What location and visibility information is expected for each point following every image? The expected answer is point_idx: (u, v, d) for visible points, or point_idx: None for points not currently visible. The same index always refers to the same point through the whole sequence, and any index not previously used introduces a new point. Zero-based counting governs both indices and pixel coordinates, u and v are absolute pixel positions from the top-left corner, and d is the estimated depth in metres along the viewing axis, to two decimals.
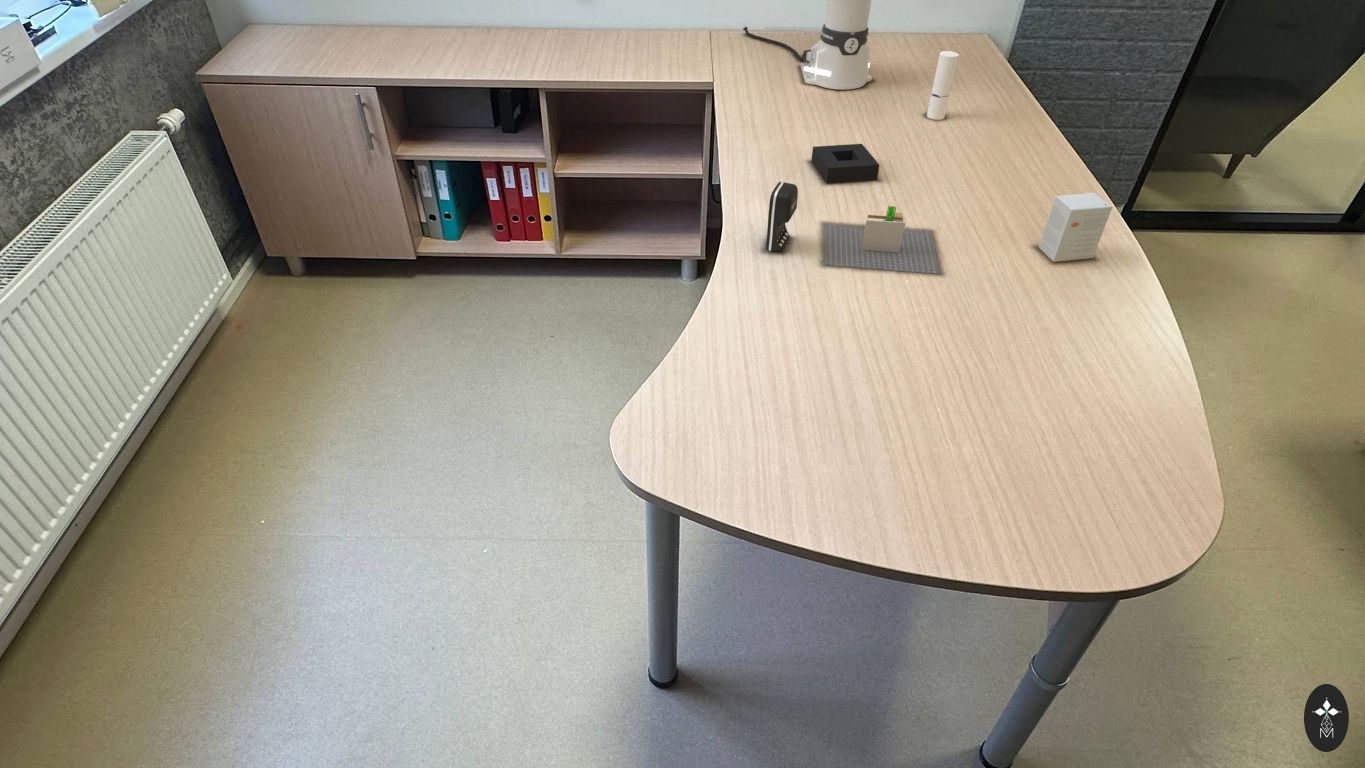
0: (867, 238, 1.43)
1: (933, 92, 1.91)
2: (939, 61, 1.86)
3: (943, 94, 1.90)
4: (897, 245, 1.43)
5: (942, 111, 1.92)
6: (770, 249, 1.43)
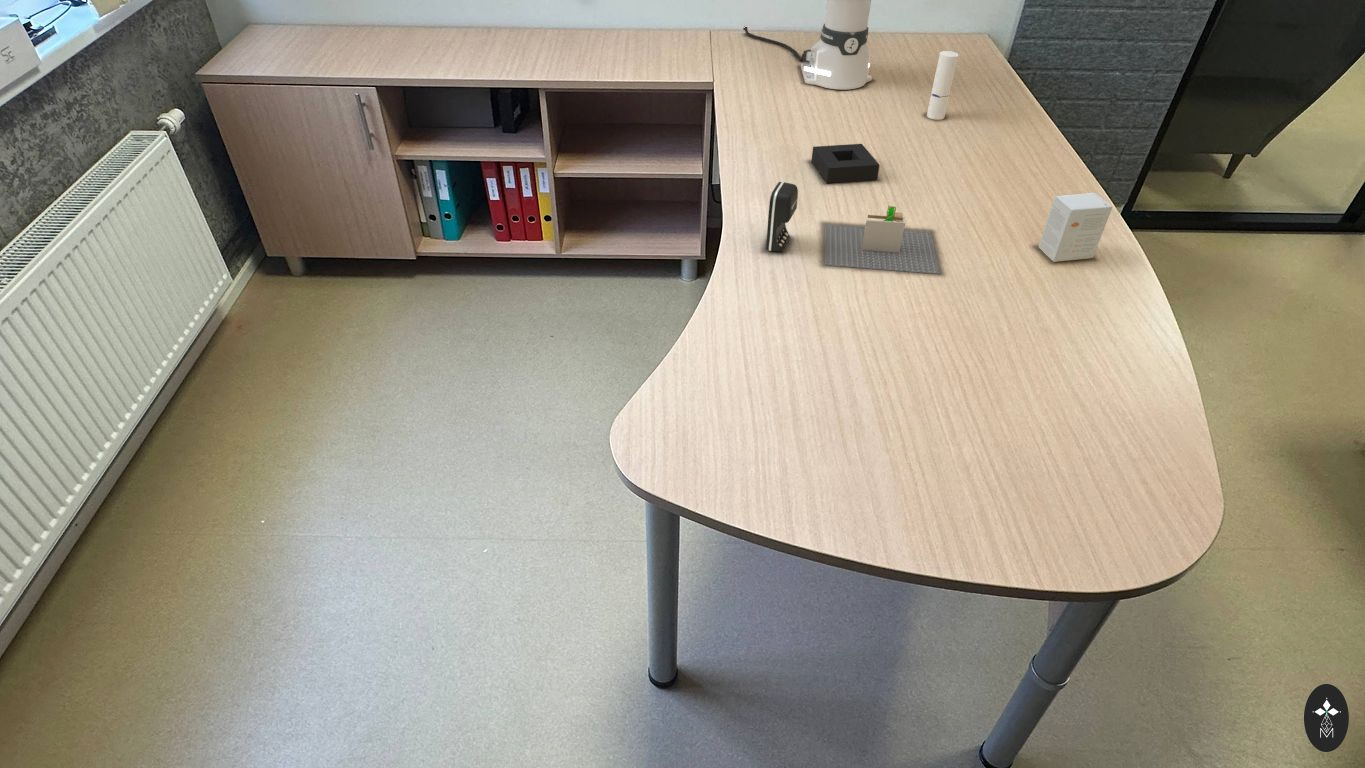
0: (867, 238, 1.43)
1: (933, 92, 1.91)
2: (939, 61, 1.86)
3: (943, 94, 1.90)
4: (897, 245, 1.43)
5: (942, 111, 1.92)
6: (770, 249, 1.43)
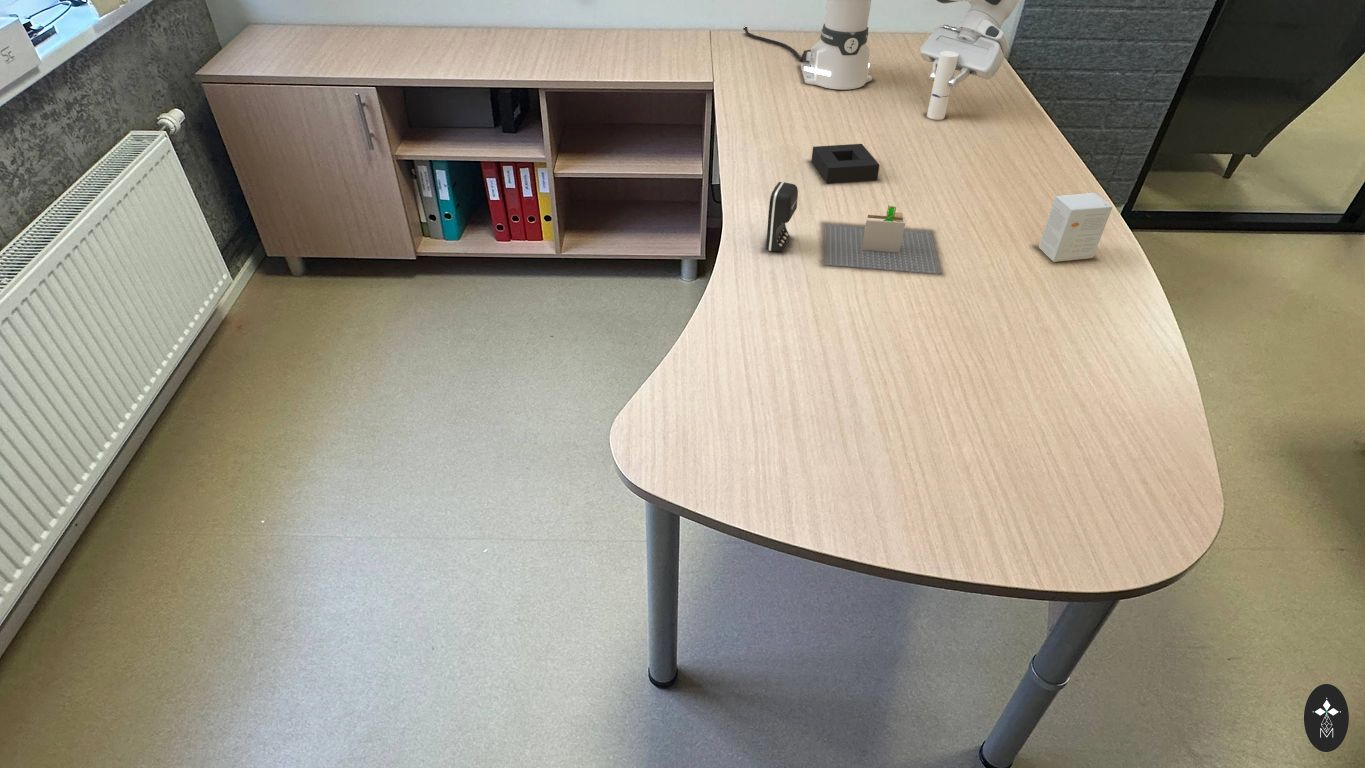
0: (867, 238, 1.43)
1: (933, 92, 1.91)
2: (939, 61, 1.86)
3: (943, 94, 1.90)
4: (897, 245, 1.43)
5: (943, 111, 1.92)
6: (770, 249, 1.43)
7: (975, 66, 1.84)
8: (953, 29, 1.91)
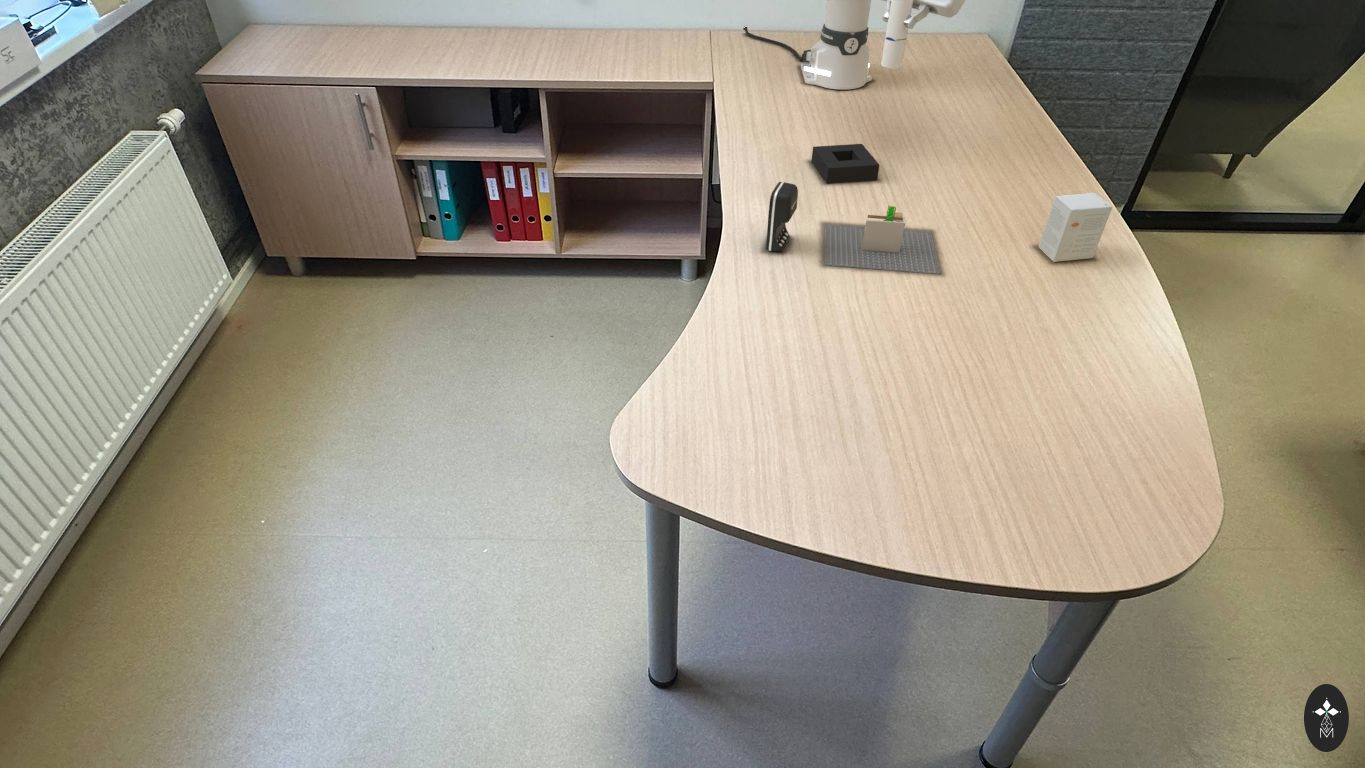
0: (867, 238, 1.43)
1: (887, 35, 1.61)
2: None
3: (899, 37, 1.60)
4: (897, 245, 1.43)
5: (899, 57, 1.63)
6: (770, 249, 1.43)
7: (934, 1, 1.55)
8: None
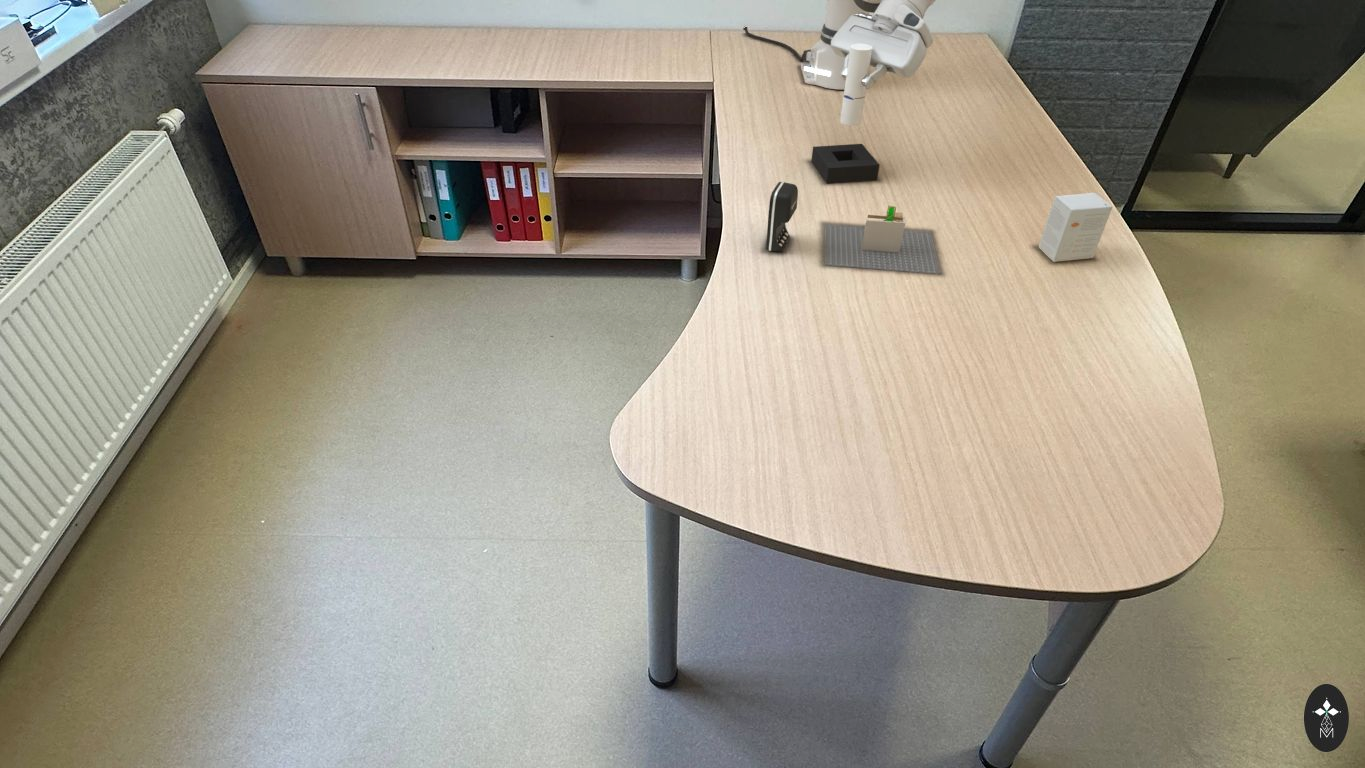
0: (867, 238, 1.43)
1: (845, 93, 1.59)
2: (850, 56, 1.55)
3: (856, 95, 1.58)
4: (897, 245, 1.43)
5: (857, 115, 1.61)
6: (770, 249, 1.43)
7: (891, 62, 1.52)
8: (869, 18, 1.59)
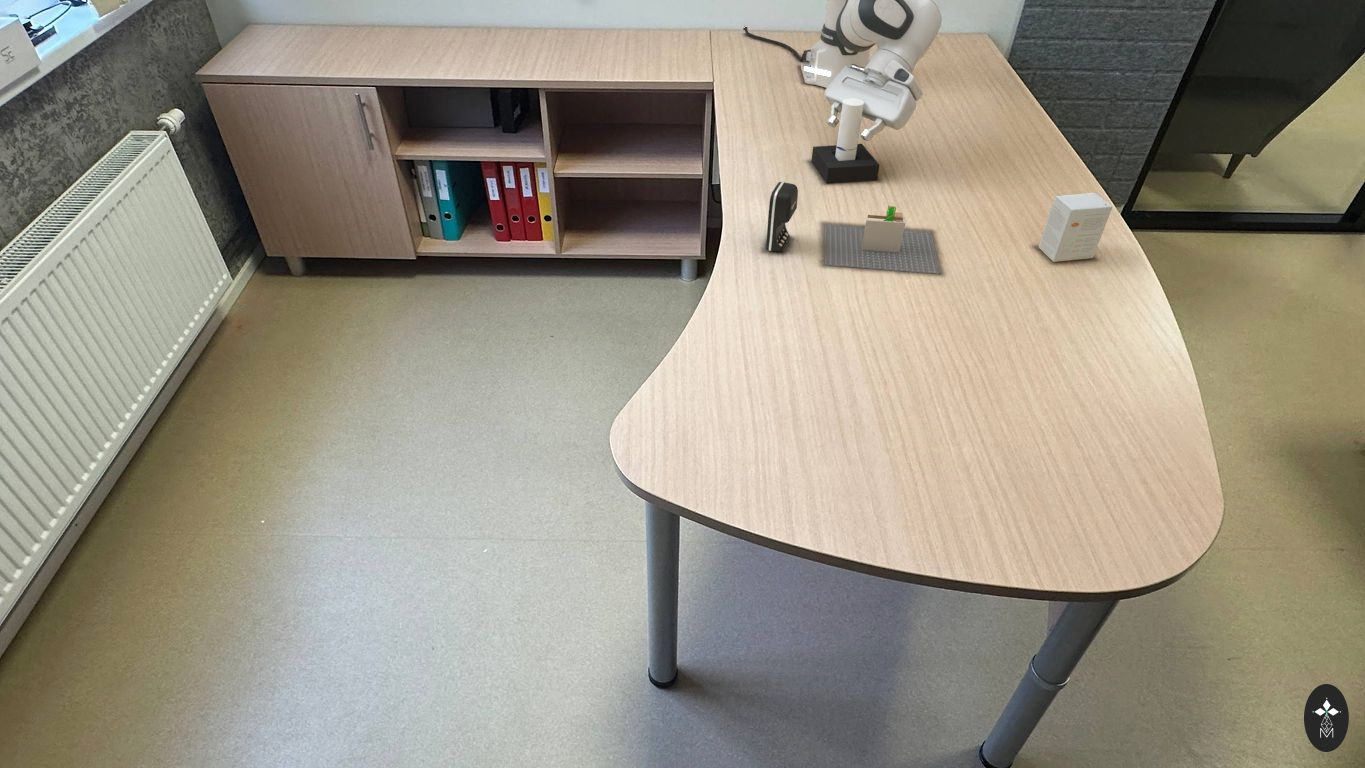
0: (867, 238, 1.43)
1: (838, 144, 1.66)
2: (842, 110, 1.61)
3: (849, 147, 1.65)
4: (897, 245, 1.43)
5: None
6: (770, 249, 1.43)
7: (882, 115, 1.59)
8: (861, 70, 1.66)
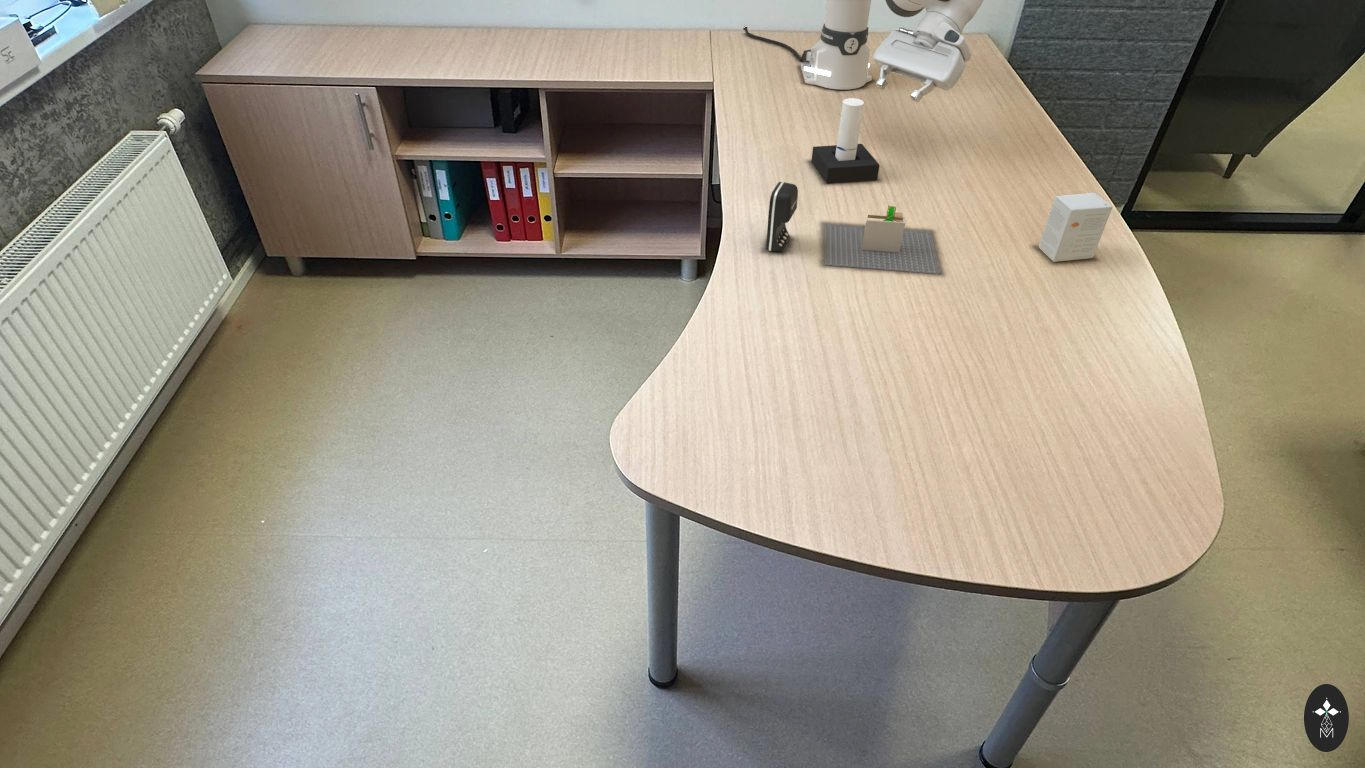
0: (867, 238, 1.43)
1: (838, 144, 1.66)
2: (842, 110, 1.61)
3: (849, 147, 1.65)
4: (897, 245, 1.43)
5: None
6: (770, 249, 1.43)
7: (932, 75, 1.63)
8: (910, 33, 1.70)
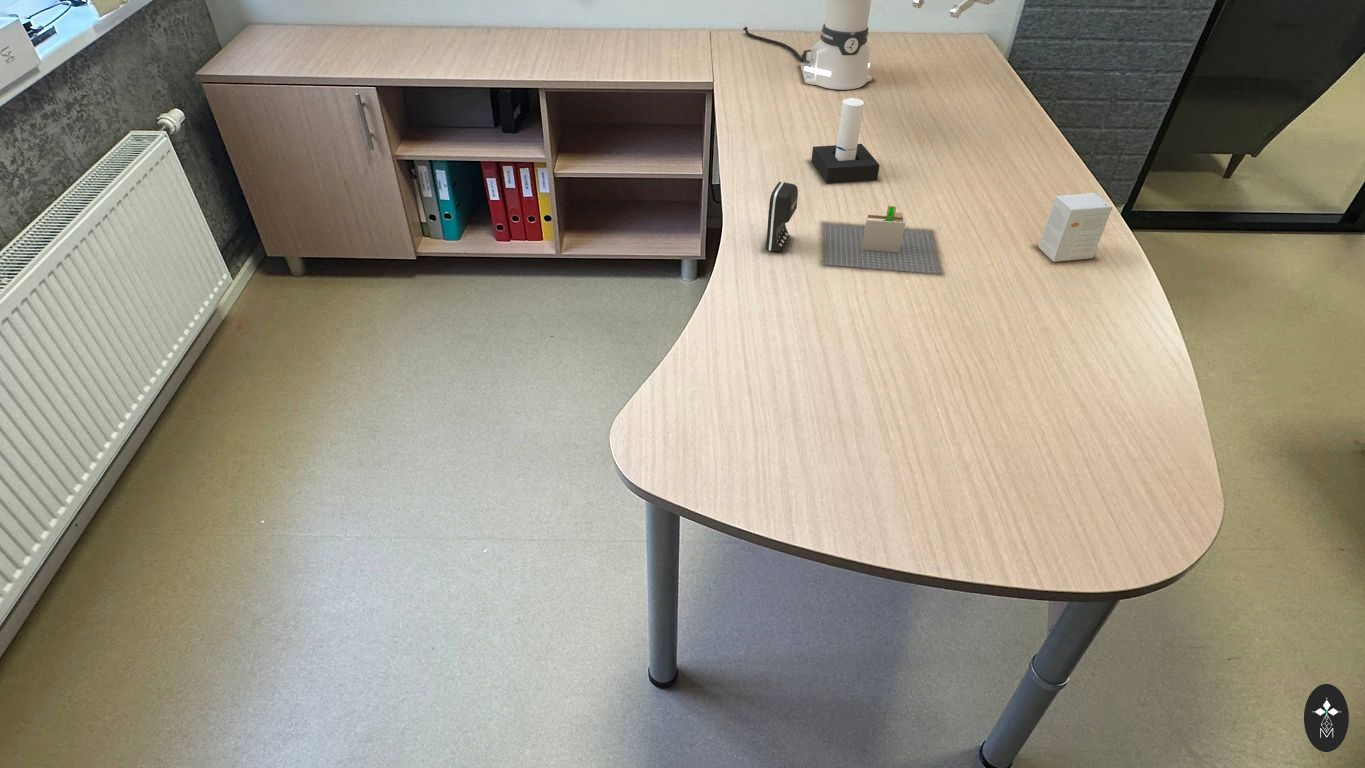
0: (867, 238, 1.43)
1: (838, 144, 1.66)
2: (842, 110, 1.61)
3: (849, 147, 1.65)
4: (897, 245, 1.43)
5: None
6: (770, 249, 1.43)
7: None
8: None
